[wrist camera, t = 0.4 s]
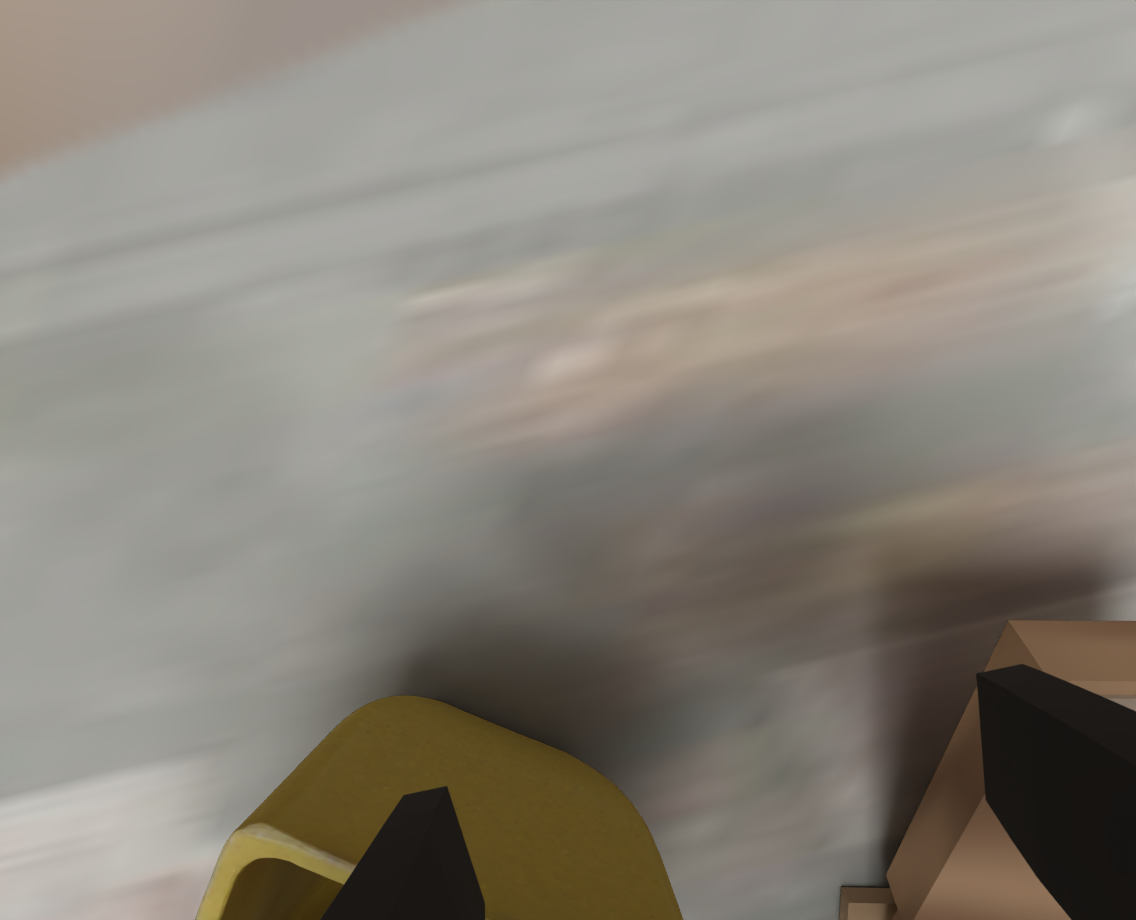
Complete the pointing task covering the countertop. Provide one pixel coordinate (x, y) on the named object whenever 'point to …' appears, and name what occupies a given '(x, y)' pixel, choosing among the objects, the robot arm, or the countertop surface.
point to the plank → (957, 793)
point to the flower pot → (483, 807)
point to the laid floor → (867, 904)
